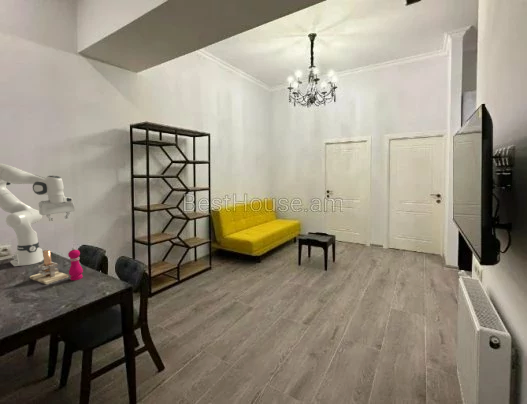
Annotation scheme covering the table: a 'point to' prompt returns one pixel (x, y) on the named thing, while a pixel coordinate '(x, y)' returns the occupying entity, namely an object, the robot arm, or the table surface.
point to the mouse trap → (53, 273)
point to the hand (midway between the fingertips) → (58, 219)
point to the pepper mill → (75, 265)
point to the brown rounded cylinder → (47, 260)
